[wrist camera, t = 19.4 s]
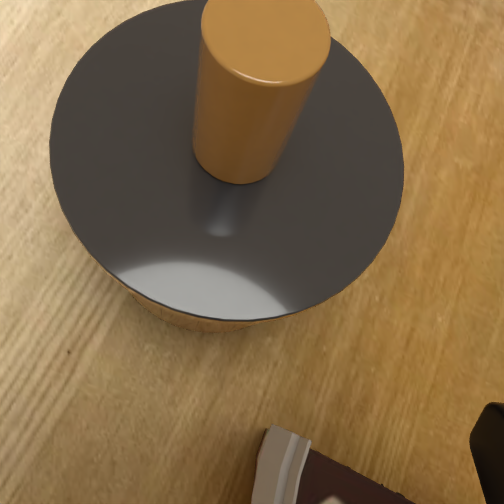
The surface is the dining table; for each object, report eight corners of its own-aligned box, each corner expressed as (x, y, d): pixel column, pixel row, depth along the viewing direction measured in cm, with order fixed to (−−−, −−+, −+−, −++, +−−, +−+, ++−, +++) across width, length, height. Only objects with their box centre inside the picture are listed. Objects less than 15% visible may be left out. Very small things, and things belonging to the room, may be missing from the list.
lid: (443, 218, 17) (600, 119, 11) (178, 402, 14) (185, 409, 8) (269, -10, 19) (319, -211, 13) (-4, 109, 16) (-119, -80, 9)
